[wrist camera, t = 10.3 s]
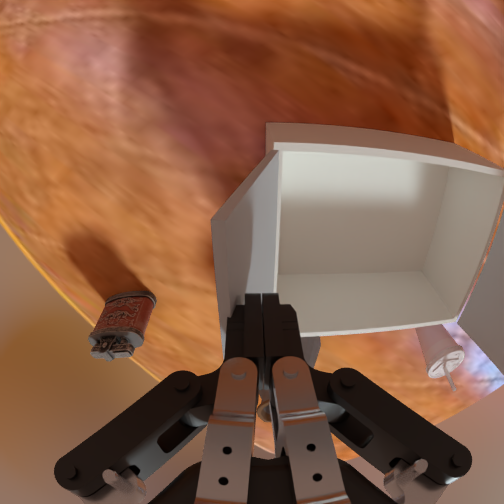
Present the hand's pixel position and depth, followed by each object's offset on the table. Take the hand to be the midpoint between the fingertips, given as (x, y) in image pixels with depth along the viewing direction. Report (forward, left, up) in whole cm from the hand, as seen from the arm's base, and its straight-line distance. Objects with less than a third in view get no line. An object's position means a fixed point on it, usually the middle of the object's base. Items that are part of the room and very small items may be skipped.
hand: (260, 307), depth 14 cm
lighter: (+17, +17, -20) cm, 31 cm away
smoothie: (-27, +22, -20) cm, 40 cm away
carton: (-12, +4, -19) cm, 23 cm away
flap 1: (0, +4, -4) cm, 5 cm away
